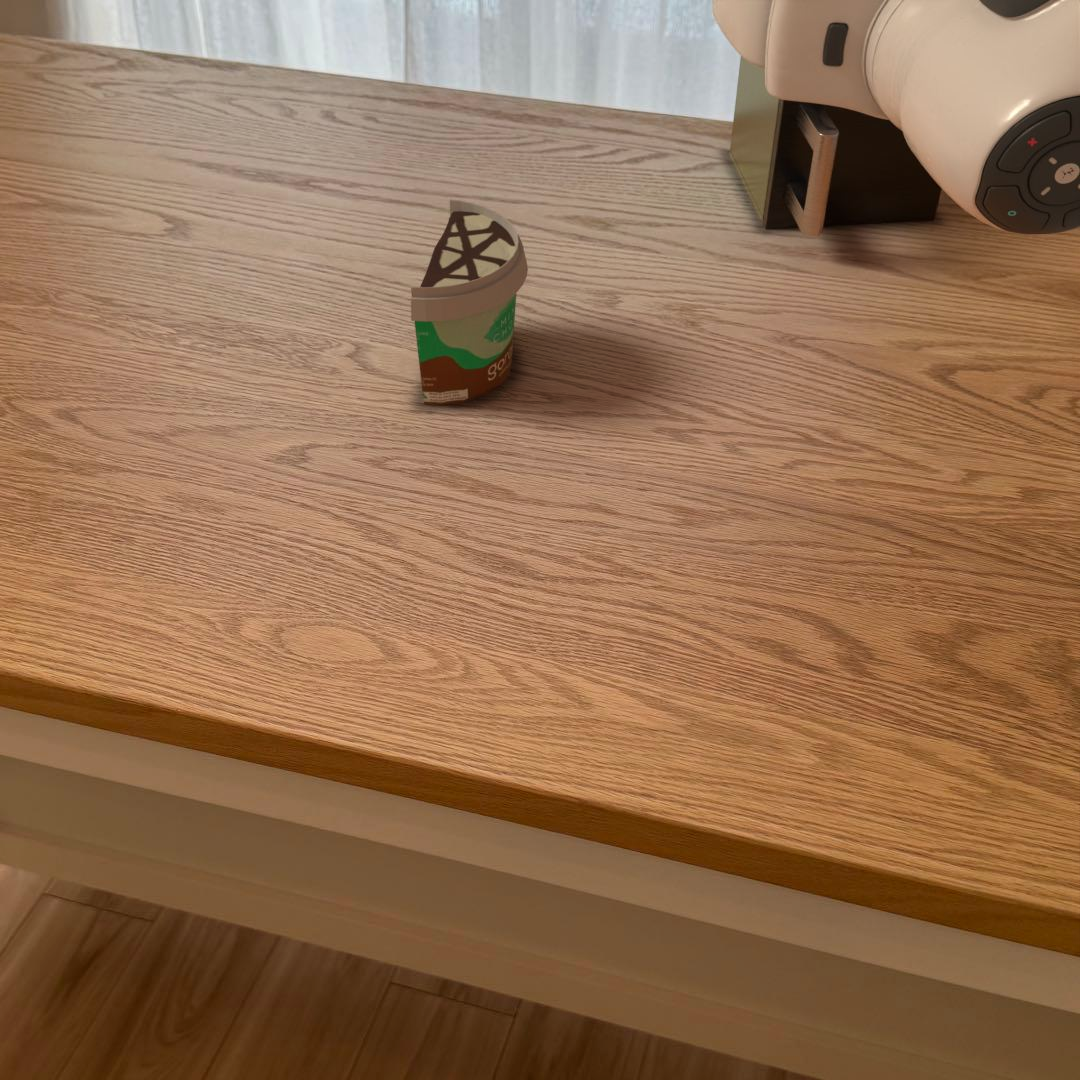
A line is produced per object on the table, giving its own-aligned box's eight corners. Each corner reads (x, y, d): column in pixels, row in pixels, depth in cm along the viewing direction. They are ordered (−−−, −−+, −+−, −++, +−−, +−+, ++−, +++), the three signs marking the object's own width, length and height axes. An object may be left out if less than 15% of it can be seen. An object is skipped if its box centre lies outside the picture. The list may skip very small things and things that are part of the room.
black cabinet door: (958, 261, 97) (1003, 89, 87) (783, 271, 96) (809, 98, 86) (929, 219, 102) (969, 51, 92) (761, 227, 101) (785, 59, 91)
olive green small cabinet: (927, 219, 102) (968, 48, 92) (761, 228, 101) (784, 56, 91) (882, 153, 111) (915, -9, 101) (728, 160, 110) (747, -3, 100)
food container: (511, 433, 81) (509, 301, 74) (419, 423, 82) (408, 292, 75) (541, 329, 90) (541, 202, 83) (457, 321, 91) (451, 195, 84)
